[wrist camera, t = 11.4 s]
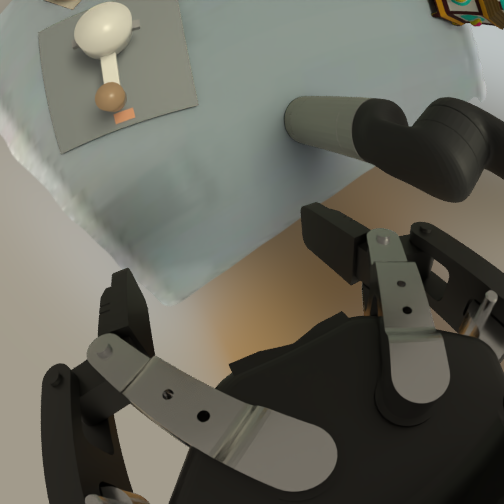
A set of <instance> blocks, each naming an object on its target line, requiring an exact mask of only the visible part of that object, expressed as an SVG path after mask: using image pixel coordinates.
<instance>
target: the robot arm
mask: <svg viewBox="0 0 504 504" xmlns="http://www.w3.org/2000/svg"><path fill="white" fill-rule="evenodd" d="M284 119H285V127H286V130H287V132H288V134H289V135H290V136H291V138H292V139H294V140H295V141H297V142H298V143H302V144H306V145H310V146H313V147H317V148H320V149H324V150H328V151H331V152H335V153H338V154H342V155H345V156H348V157H351V158H355V159H358V160H361V161H364V162H368V163H370V164H373V165H375V166H376V167H378V168H379V169H381V170H382V171H384V172H385V173H387V174H389V175H391V176H393V177H395V178H397V179H400V180H402V181H404V182H406V183H408V184H410V185H412V186H414V187H416V188H418V189H420V190H422V191H424V192H426V193H427V194H429V195H431V196H433V197H436V198H438V199H441V200H443V201H447V202H453V203H454V202H455V203H456V202H462V201H463V200H465V199H466V198H467V197H468V196H469V195H470V193H471V192H472V190H473V188H474V186H475V185H476V183H477V181H478V179H479V177H480V175H481V173H482V171H483V170H484V169H487V170H489V171H491V172H492V173H494V174H496V175H497V176H499V177H501V178H502V179H504V122H503V121H501V120H500V119H498V118H496V117H495V116H493V115H491V114H490V113H488V112H486V111H484V110H482V109H480V108H479V107H477V106H475V105H472V104H470V103H468V102H465V101H463V100H460V99H456V98H451V97H444V98H439V99H437V100H435V101H434V102H432V103H431V104H430V105H429V106H428V107H427V108H426V110H425V111H424V112H423V113H422V114H421V116H420V117H419V118H418V119H417V121H416V122H415V123H414V124H413V126H412V127H409V126H408V122H407V119H406V116H405V114H404V112H403V111H402V109H401V108H400V107H399V106H398V105H397V104H395V103H394V102H392V101H390V100H386V99H377V98H363V97H340V96H303V97H299V98H296V99H295V100H293V101H292V102H291V103H290V104H289V106H288V107H287V110H286V112H285V118H284ZM301 222H302V235H303V240H304V243H305V245H306V246H307V248H308V249H309V250H311V251H312V252H313V253H314V254H315V255H316V256H318V257H319V258H320V259H321V260H322V261H323V262H325V263H326V264H327V265H328V266H329V267H330V268H332V269H333V270H334V271H335V272H336V273H337V274H339V275H340V276H341V277H342V278H343V279H344V280H345V281H347V282H348V283H349V284H350V285H353V284H355V283H357V282H358V281H362V300H363V316H356V317H351V318H348V317H347V316H346V315H345V314H344V313H343V312H342V311H341V312H340V313H338V314H336V315H334V316H332V317H330V318H328V319H326V320H324V321H322V322H320V323H318V324H317V325H316V326H314V327H313V328H312V329H311V330H310V331H308V332H307V333H306V334H305V335H304V336H302V337H301V338H300V339H299V340H298V341H296V342H295V343H293V344H290V345H286V346H282V347H278V348H273V349H268V350H264V351H259V352H257V353H254V354H252V355H249V356H247V357H245V358H243V359H240V360H238V361H235V362H233V363H230V364H229V366H230V369H231V371H232V373H231V374H230V375H228V376H227V377H226V378H225V379H223V380H222V381H221V382H220V383H219V385H218V386H217V387H216V388H213V387H211V386H209V385H207V384H205V383H203V382H201V381H199V380H197V379H195V378H194V377H192V376H190V375H188V374H186V373H184V372H183V371H181V370H179V369H177V368H176V367H174V366H172V365H171V364H169V363H167V362H165V361H164V360H162V359H161V358H159V357H157V356H155V352H154V346H153V340H152V334H151V328H150V321H149V314H148V307H147V304H146V301H145V298H144V296H143V294H142V292H141V290H140V288H139V287H138V284H137V282H136V280H135V278H134V276H133V274H132V272H131V271H130V269H129V268H126V269H123V270H120V271H118V272H116V273H113V274H112V283H111V287H109V288H106V289H105V291H104V293H103V295H102V296H101V301H100V311H99V314H100V315H99V324H98V338H96V339H95V340H94V341H93V342H92V343H91V344H90V346H89V348H88V351H87V360H86V361H84V362H83V363H81V364H80V365H78V366H77V367H75V368H74V369H72V370H71V369H70V368H69V367H68V366H67V365H65V364H56V365H54V366H52V367H51V368H50V369H49V370H48V371H47V372H46V374H45V376H44V378H43V382H42V395H41V442H42V456H43V467H44V475H45V482H46V488H47V494H48V499H49V504H150V503H149V502H148V501H147V500H146V499H145V498H144V497H142V496H140V495H138V494H136V493H133V490H132V487H131V484H130V481H129V478H128V474H127V471H126V467H125V464H124V460H123V456H122V452H121V448H120V443H119V439H118V434H117V429H116V424H115V419H114V413H116V412H117V411H119V410H120V409H122V408H124V407H125V406H127V405H128V404H132V405H133V406H134V407H135V408H136V409H137V410H139V411H140V412H141V413H142V414H144V415H145V416H146V417H148V418H149V419H150V420H151V421H153V422H154V423H155V424H157V425H158V426H160V427H161V428H162V429H163V430H165V431H166V432H167V433H169V434H170V435H172V436H173V437H174V438H176V439H177V440H179V441H180V442H182V443H183V444H185V445H186V446H188V447H189V451H188V454H187V456H186V459H185V462H184V464H183V467H182V470H181V472H180V475H179V477H178V480H177V483H176V485H175V488H174V491H173V493H172V496H171V498H170V501H169V504H504V372H503V370H502V368H501V365H500V363H501V362H502V360H503V359H504V273H502V272H501V271H500V270H499V269H497V268H496V267H495V266H493V265H492V264H491V263H489V262H488V261H487V260H485V259H484V258H482V257H481V256H480V255H478V254H477V253H475V252H474V251H472V250H471V249H470V248H468V247H466V246H465V245H464V244H462V243H461V242H459V241H458V240H456V239H455V238H453V237H451V236H450V235H448V234H447V233H445V232H444V231H442V230H440V229H439V228H437V227H436V226H434V225H432V224H430V223H426V222H416V223H413V224H412V225H411V230H410V234H409V235H403V236H398V235H397V234H396V233H395V232H393V231H391V230H388V229H383V228H379V229H373V230H370V229H368V228H367V227H365V226H363V225H362V224H360V223H358V222H357V221H355V220H353V219H352V218H350V217H347V216H346V215H345V214H343V213H341V212H339V211H336V210H333V209H329V208H327V207H325V206H323V205H322V204H320V203H318V202H315V203H312V204H309V205H306V206H303V207H302V208H301ZM434 259H435V260H436V261H438V262H439V263H440V264H442V265H443V266H444V267H446V269H447V270H448V272H449V281H448V283H446V282H445V281H443V280H442V279H441V278H440V277H439V276H437V275H436V274H435V273H433V272H432V271H431V268H432V265H433V261H434ZM429 306H430V307H431V308H432V309H433V310H434V311H435V312H436V313H437V314H438V315H440V316H441V317H442V318H443V319H444V320H445V321H446V322H447V323H448V324H449V325H450V326H451V327H452V328H453V329H454V330H455V331H456V332H457V333H458V334H457V333H452V332H447V331H442V330H437V329H435V326H434V322H433V318H432V314H431V311H430V307H429Z"/></svg>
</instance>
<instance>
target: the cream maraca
mask: <svg viewBox="0 0 504 504" xmlns="http://www.w3.org/2000/svg"><path fill="white" fill-rule="evenodd" d="M139 29H140V19H138V20H134V21H132V16H131V13H130V11H129V9H128V8H127V7H126V6H125V5H123V4H121V3H117V2H106V3H101V4H99V5H96V6H94V7H92V8H91V9H89V10H88V11H87V12H85V13H84V14H83V15H82V16H81V18H80V19H79V21H78V22H77V24H76V27H75V31H74V38H75V39H74V40H71V42H72V48H73V49H74V50H75V49H77V48H81V49H82V50H83V51H84V52H85V54H86V55H88V56H89V57H91V58H93V59H101V67H102V74H103V81H104V84H103V85H102V86H101V87H100V88H99V89H98V90H97V92H96V95H95V103H96V105H97V106H98V108H100V109H101V110H104V111H109V112H117V111H119V110H121V109H122V108H123V107H124V106H125V104H126V101H127V95H126V93H125V91H124V90H123V88H122V87H121V83H120V76H119V70H118V63H117V54H118V53H120V52H121V51H122V50H123V49H124V48H125V47H126V46H127V45H128V43H129V42H130V40H131V37H132V31H135V30H139Z"/></svg>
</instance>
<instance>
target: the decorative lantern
mask: <svg viewBox="0 0 504 504" xmlns="http://www.w3.org/2000/svg"><path fill="white" fill-rule="evenodd" d="M434 2H435V5H436V9H437V12H436V13H433V14H432V16H433V17H439V18H443V19H446V20H448V21H450V22H452V24H453V25H456V26H461V25H463V24H465V23H471V24H472V25H473V26H480V25H481V24H485V25H493V26H496V27H498V28H500V29H502V30H503V28H504V0H434Z"/></svg>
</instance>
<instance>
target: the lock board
mask: <svg viewBox="0 0 504 504" xmlns="http://www.w3.org/2000/svg"><path fill="white" fill-rule="evenodd" d="M112 2H117V3H121V4H123V5H125V6H126V7H127V8H128V9H129V11H130V13H131V16H132V21H134V20H138V19H140V29H139V30H135V31H132V37H131V40H130V42H129V43H128V45H127V46H126V47H125V48H124V49H123V50H122V51H121V52H120V53H118V54H117V63H118V70H119V76H120V83H121V87H122V88H123V90H124V91H125V93H126V95H127V101H126V104H125V106H124V107H123V108H122V109H121V110H119V111H117V112H109V111H104V110H101V109H100V108H98V106H97V105H96V103H95V95H96V92H97V90H98V89H99V88H100V87H101V86H102V85H103V84H104V81H103V74H102V67H101V59H93V58H91V57H89V56H88V55H86V54H85V52H84V51H83V50H82V49H81V48H77V49H75V50H74V49H73V48H72V42H71V40H74V39H75V38H74V31H75V27H76V24H77V22H78V21H79V19H80V18H81V16H82V15H83V14H84V13H85V12H87V11H88V10H86V11H83V12H81V13H78V14H76V15H74V16H71V17H69V18H67V19H64V20H62V21H60V22H58V23H56V24H54V25H52V26H50V27H48V28H46V29H44V30H42V31H40V32H38V35H39V48H40V57H41V65H42V73H43V79H44V85H45V91H46V96H47V101H48V106H49V110H50V115H51V119H52V123H53V127H54V131H55V135H56V138H57V142H58V145H59V149H60V152H61V154H63V153H65V152H67V151H69V150H71V149H73V148H75V147H78V146H80V145H82V144H84V143H86V142H89V141H91V140H93V139H96V138H98V137H101V136H103V135H106V134H108V133H111V132H113V131H116V130H118V129H121V128H124V127H127V126H129V125H132V124H135V123H138V122H141V121H144V120H147V119H150V118H154V117H157V116H160V115H164V114H167V113H170V112H174V111H178V110H182V109H185V108H189V107H193V106H197V105H198V100H197V95H196V90H195V86H194V81H193V76H192V71H191V66H190V61H189V56H188V51H187V46H186V41H185V35H184V30H183V25H182V20H181V14H180V9H179V3H178V0H115V1H112Z"/></svg>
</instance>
